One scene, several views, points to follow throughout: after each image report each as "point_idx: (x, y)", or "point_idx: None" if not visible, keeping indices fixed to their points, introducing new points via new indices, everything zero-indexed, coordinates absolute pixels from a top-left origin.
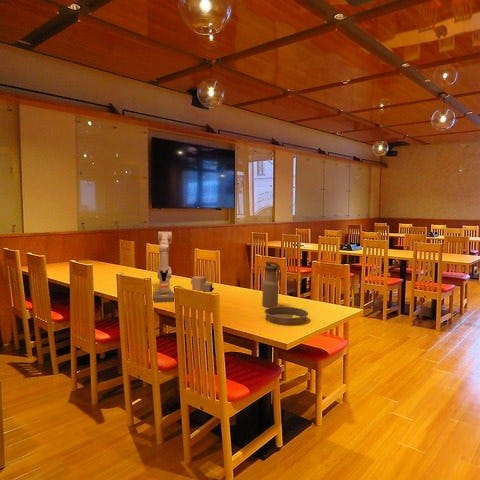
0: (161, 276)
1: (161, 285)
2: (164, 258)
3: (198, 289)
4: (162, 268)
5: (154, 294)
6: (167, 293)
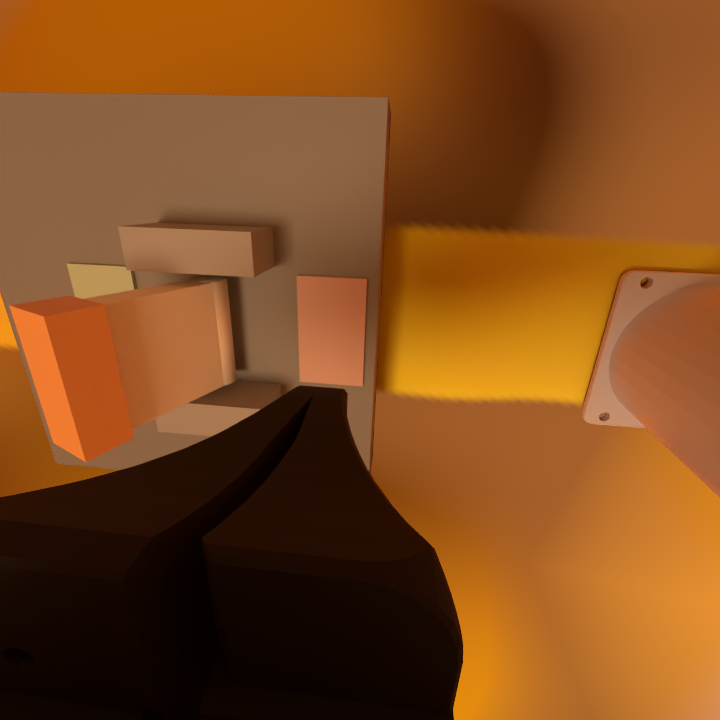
0: (210, 438)
1: (17, 323)
2: None
3: None
4: None
5: (184, 173)
6: (251, 371)
